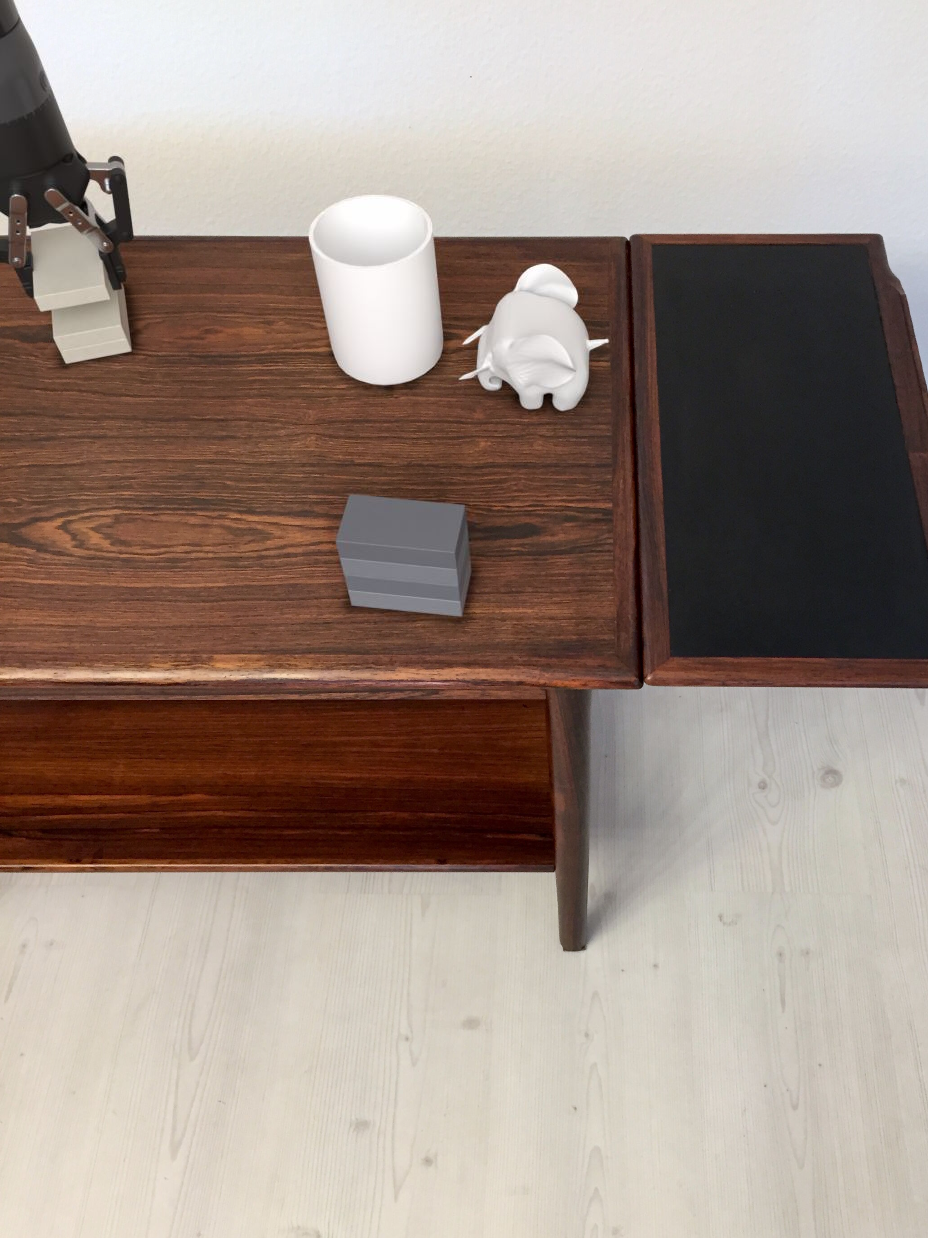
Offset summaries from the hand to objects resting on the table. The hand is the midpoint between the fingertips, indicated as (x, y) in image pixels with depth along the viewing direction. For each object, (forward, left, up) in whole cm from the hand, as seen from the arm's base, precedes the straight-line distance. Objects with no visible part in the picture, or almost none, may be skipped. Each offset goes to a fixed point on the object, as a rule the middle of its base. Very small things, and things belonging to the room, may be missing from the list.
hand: (80, 290), depth 89 cm
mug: (+26, +1, -4) cm, 26 cm away
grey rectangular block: (+33, -25, -4) cm, 41 cm away
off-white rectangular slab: (0, 0, +2) cm, 2 cm away
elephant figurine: (+39, -3, -4) cm, 39 cm away
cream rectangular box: (0, 0, -4) cm, 4 cm away
